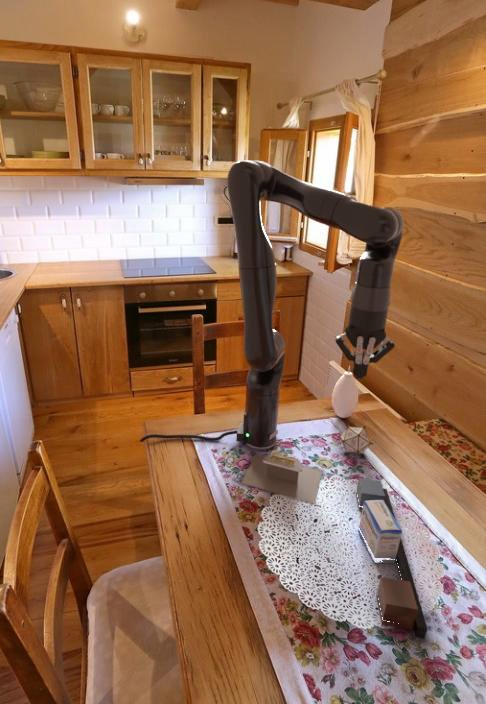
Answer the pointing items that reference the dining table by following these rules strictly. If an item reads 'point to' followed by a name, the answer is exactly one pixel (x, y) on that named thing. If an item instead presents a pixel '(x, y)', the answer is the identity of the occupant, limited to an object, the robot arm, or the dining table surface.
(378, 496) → the slate block
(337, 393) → the air dust blower
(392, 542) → the medicine box
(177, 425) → the dining table surface
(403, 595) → the walnut block
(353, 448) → the beige icosahedron
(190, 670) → the dining table surface
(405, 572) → the straightedge
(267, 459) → the platform
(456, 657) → the dining table surface
